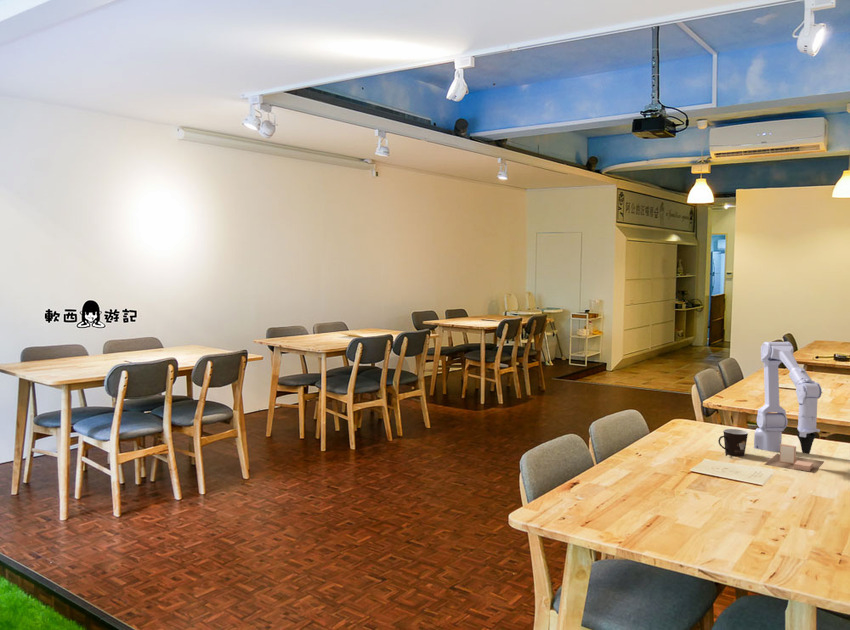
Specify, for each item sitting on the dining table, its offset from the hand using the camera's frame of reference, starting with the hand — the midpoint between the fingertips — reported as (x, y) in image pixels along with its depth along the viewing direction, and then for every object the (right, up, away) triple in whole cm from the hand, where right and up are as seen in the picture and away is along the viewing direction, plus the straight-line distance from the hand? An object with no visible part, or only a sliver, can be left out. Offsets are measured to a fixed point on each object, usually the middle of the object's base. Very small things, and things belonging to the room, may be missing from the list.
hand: (806, 453), depth 245 cm
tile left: (-4, -5, +5) cm, 8 cm away
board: (-2, -6, +5) cm, 8 cm away
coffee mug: (-20, -5, +17) cm, 26 cm away
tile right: (0, -4, 0) cm, 4 cm away
